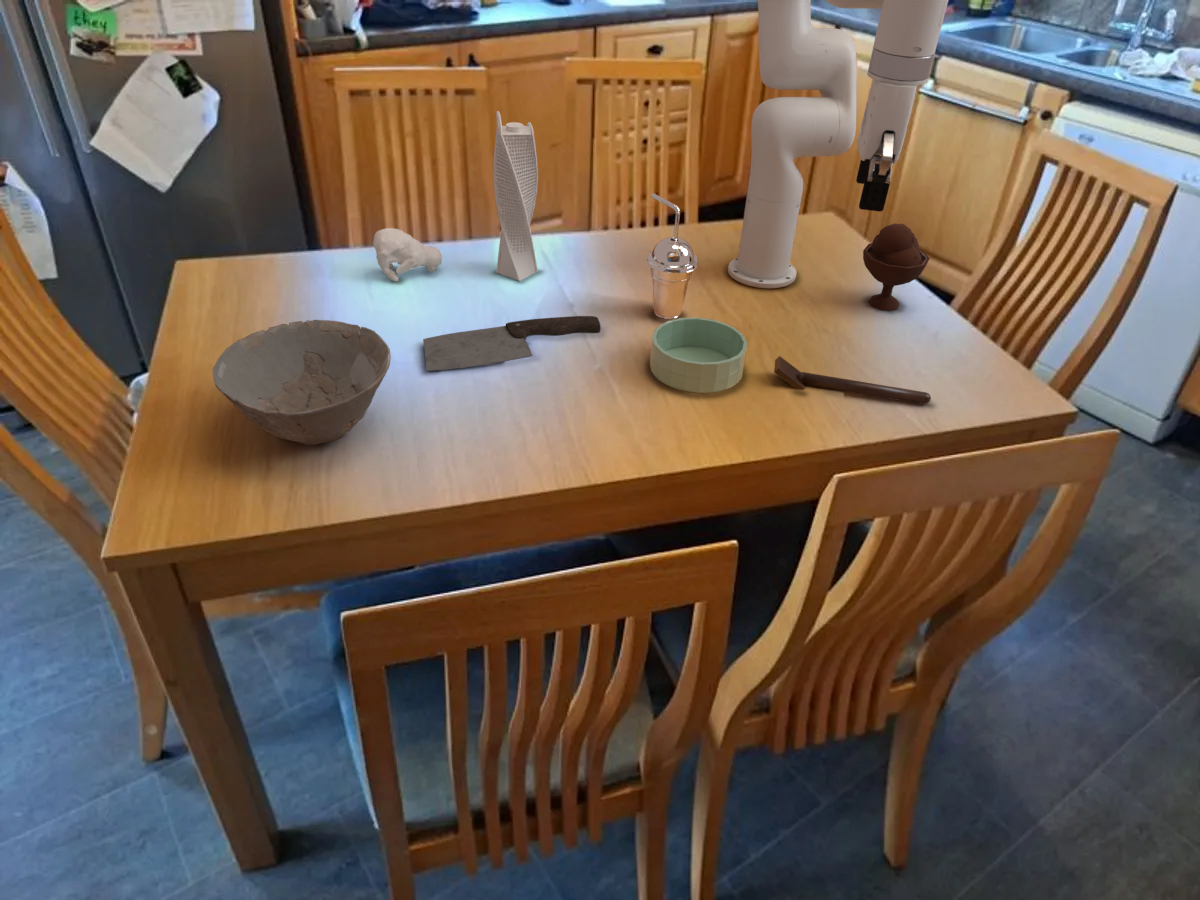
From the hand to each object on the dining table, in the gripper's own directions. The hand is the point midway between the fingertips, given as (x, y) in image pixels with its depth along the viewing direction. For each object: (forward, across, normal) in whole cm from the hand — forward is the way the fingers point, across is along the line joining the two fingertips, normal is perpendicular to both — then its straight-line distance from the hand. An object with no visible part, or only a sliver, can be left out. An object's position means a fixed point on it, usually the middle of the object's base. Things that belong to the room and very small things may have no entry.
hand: (868, 196), depth 122 cm
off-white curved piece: (+29, -14, -74) cm, 81 cm away
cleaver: (+28, +7, -49) cm, 57 cm away
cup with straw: (+28, -10, -27) cm, 40 cm away
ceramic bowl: (+28, +34, -70) cm, 82 cm away
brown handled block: (+30, +7, 0) cm, 31 cm away
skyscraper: (+29, -20, -56) cm, 66 cm away
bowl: (+28, +7, -20) cm, 35 cm away
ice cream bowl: (+28, -25, +10) cm, 39 cm away
